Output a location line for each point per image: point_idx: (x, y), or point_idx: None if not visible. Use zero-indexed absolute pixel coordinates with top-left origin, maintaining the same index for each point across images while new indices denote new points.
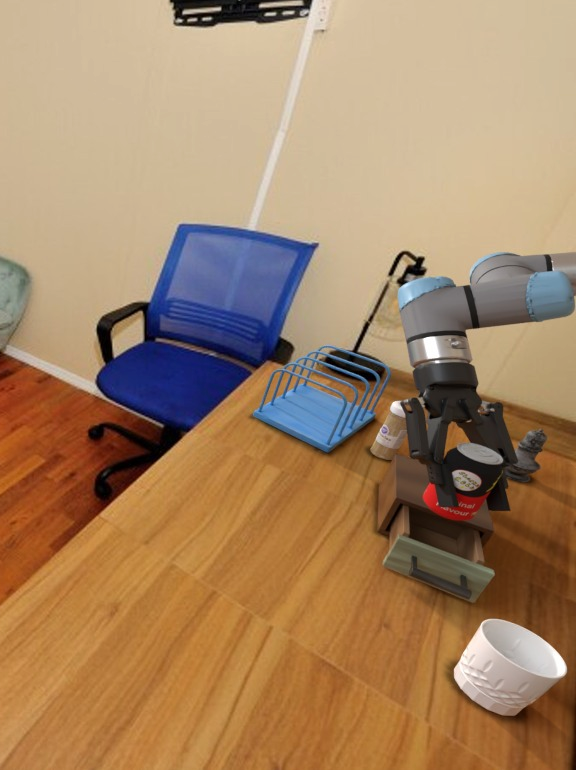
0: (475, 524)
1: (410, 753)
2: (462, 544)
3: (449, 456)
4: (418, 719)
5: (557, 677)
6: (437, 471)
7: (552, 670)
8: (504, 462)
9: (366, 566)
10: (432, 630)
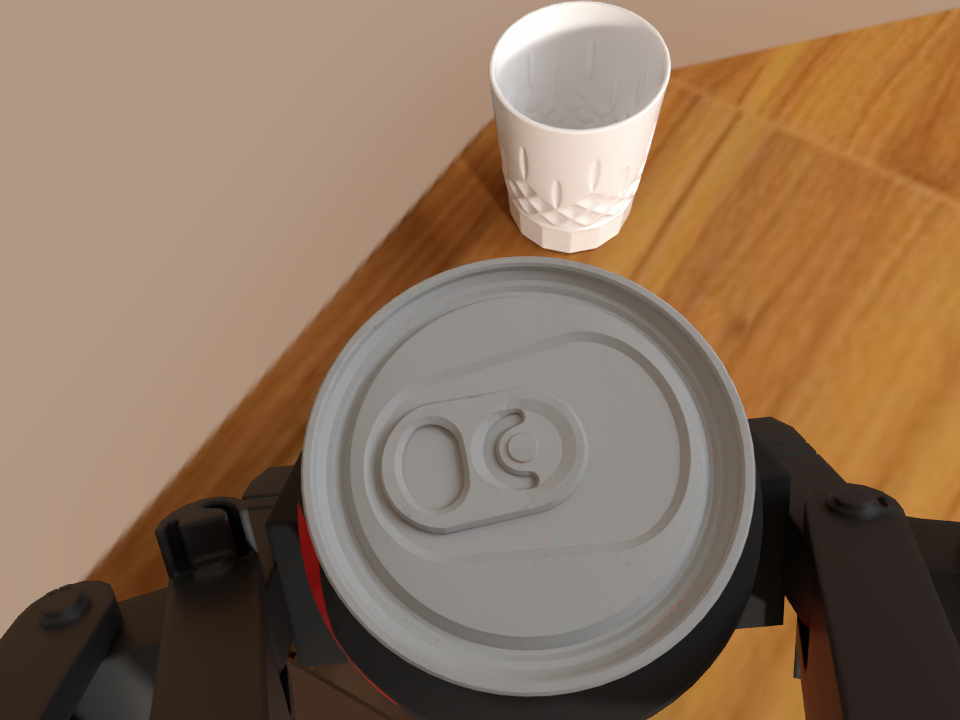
0: (302, 674)
1: (799, 51)
2: (337, 679)
3: (759, 524)
4: (756, 111)
5: (548, 5)
6: (806, 464)
7: (503, 83)
8: (182, 575)
9: None
10: None
